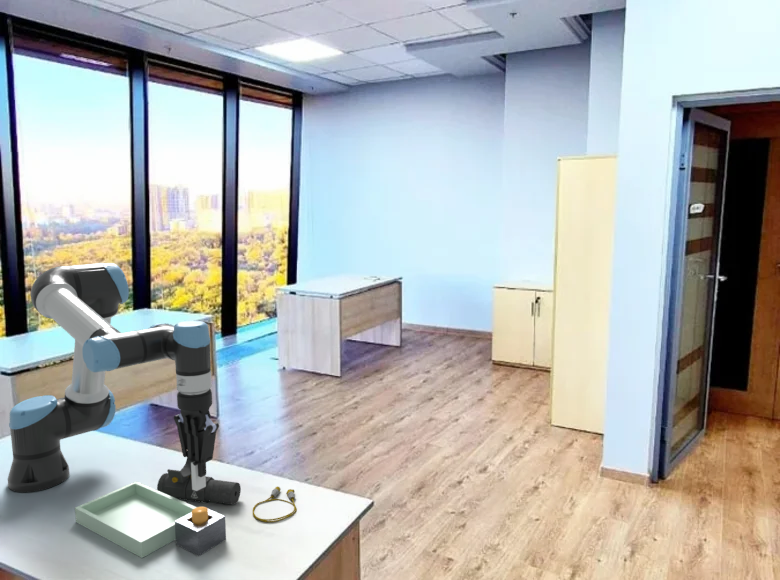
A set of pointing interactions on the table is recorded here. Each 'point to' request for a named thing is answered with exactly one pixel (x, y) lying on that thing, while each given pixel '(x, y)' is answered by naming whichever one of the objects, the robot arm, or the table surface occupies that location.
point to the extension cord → (274, 493)
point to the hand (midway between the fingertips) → (199, 487)
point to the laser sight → (215, 490)
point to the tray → (134, 517)
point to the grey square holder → (200, 533)
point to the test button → (199, 515)
